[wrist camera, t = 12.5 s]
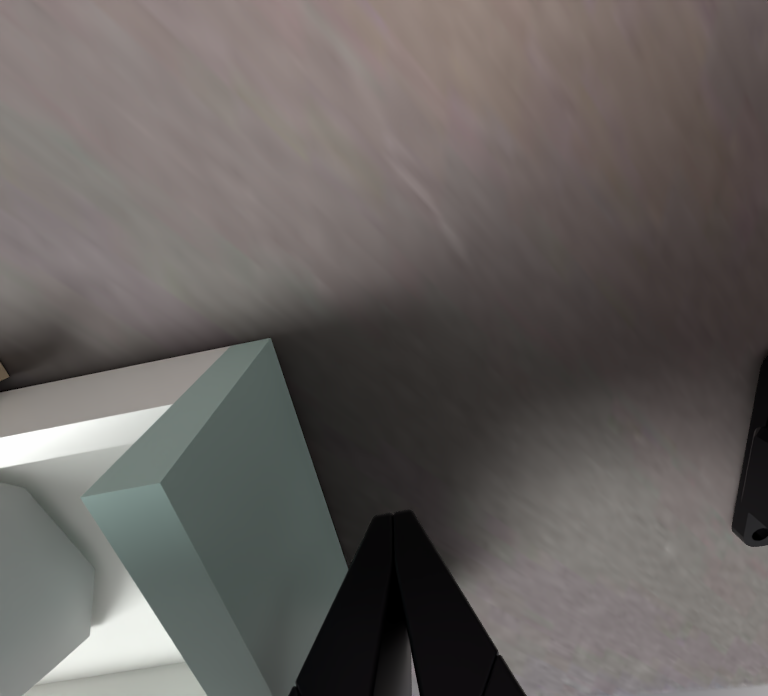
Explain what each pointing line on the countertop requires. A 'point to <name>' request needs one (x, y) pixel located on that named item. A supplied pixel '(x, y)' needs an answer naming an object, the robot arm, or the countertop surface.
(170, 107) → the countertop surface
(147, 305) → the countertop surface
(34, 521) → the flask
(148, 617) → the tray
